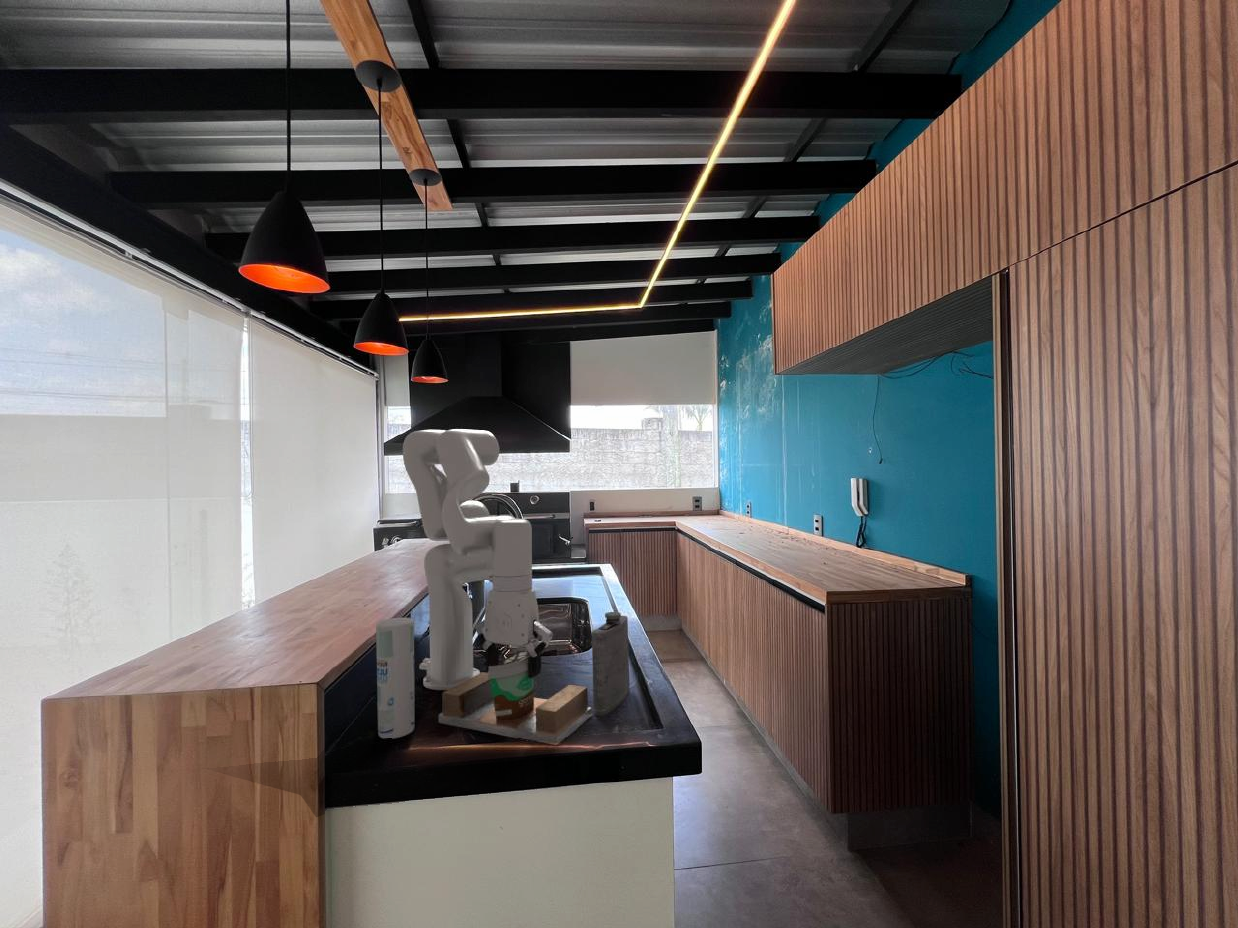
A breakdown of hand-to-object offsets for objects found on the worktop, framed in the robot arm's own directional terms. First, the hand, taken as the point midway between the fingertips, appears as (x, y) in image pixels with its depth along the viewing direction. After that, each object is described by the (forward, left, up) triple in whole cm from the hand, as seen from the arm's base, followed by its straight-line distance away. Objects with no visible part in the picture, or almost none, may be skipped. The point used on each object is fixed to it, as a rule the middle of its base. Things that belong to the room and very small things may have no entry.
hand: (513, 671), depth 104 cm
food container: (+2, 0, -7) cm, 7 cm away
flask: (+15, +14, -9) cm, 22 cm away
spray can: (-17, -12, -9) cm, 23 cm away
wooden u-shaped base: (+1, 0, -9) cm, 9 cm away
